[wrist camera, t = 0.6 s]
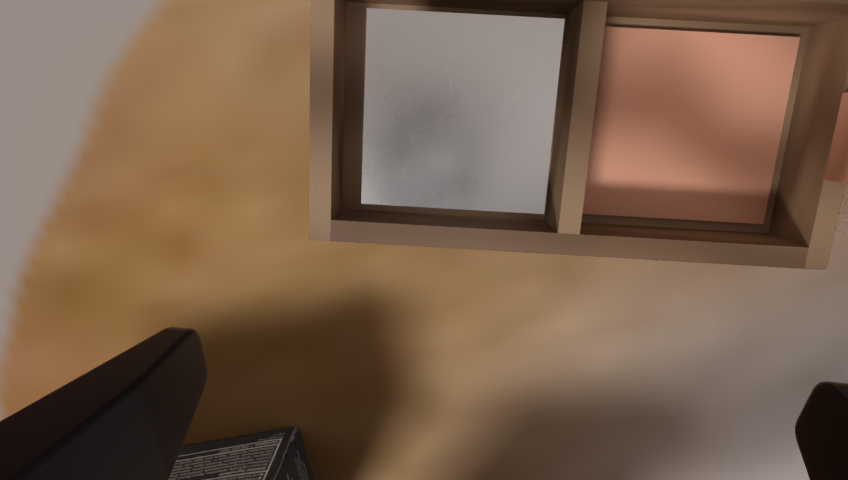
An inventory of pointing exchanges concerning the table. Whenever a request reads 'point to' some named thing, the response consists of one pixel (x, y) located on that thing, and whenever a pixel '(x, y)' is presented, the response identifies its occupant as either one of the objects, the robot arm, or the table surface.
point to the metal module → (459, 109)
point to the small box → (246, 458)
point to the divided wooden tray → (628, 133)
